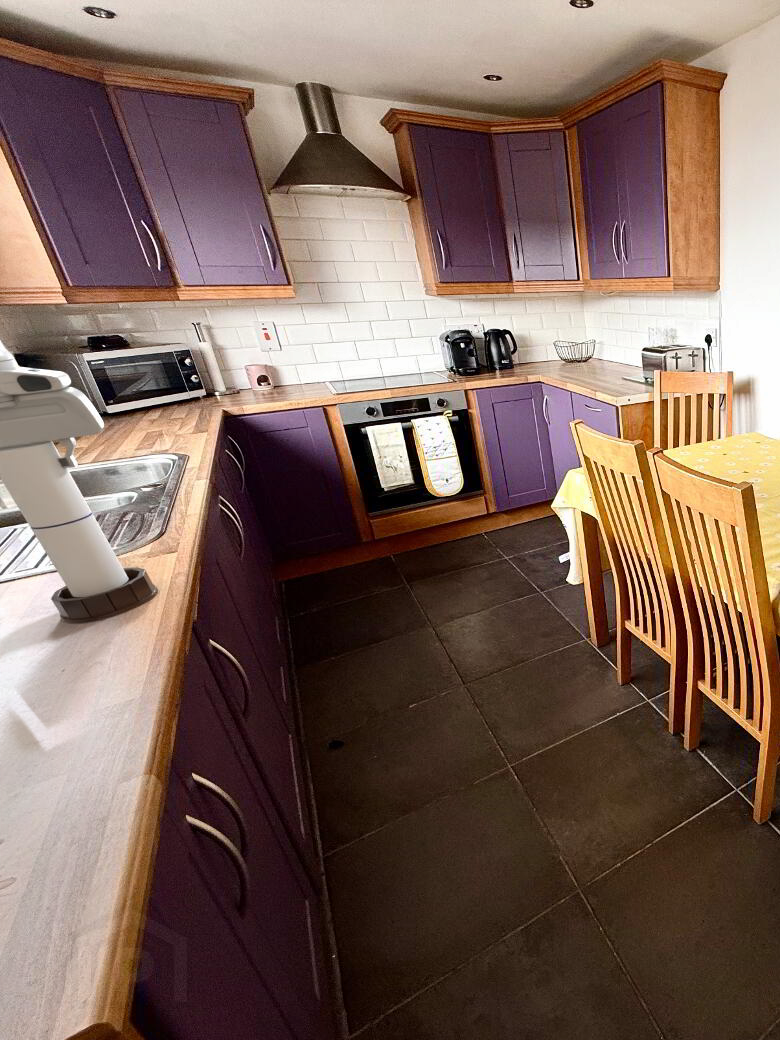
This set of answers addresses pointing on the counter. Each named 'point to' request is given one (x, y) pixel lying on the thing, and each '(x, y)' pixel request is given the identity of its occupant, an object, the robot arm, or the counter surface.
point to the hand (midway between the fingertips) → (34, 473)
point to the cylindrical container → (60, 518)
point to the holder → (106, 599)
